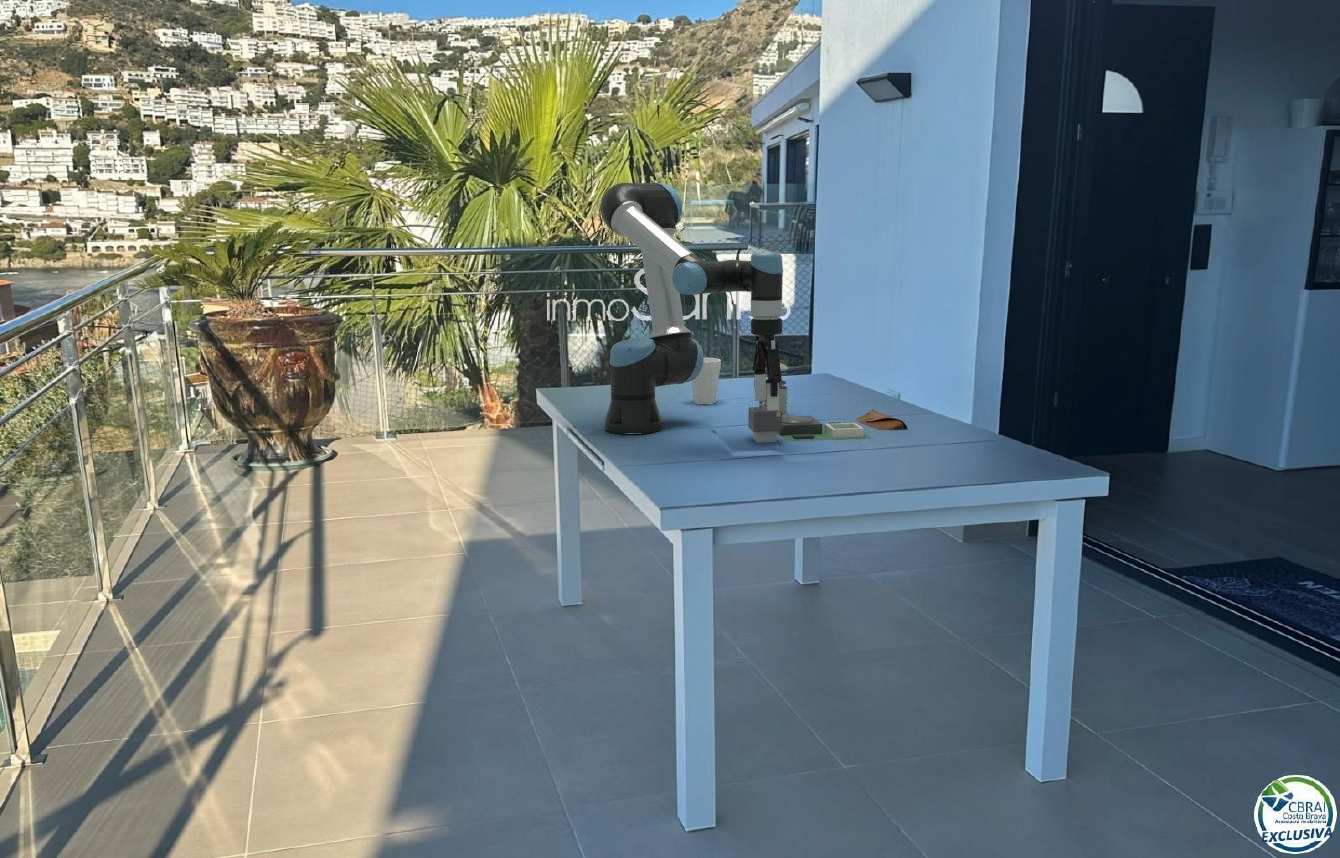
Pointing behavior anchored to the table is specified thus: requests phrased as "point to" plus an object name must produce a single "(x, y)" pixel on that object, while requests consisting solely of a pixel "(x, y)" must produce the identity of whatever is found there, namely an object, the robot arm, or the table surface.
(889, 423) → the sunglasses case
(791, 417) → the fan
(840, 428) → the frame
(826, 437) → the board
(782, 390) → the french press
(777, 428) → the plug
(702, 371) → the foam cup
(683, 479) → the table surface
